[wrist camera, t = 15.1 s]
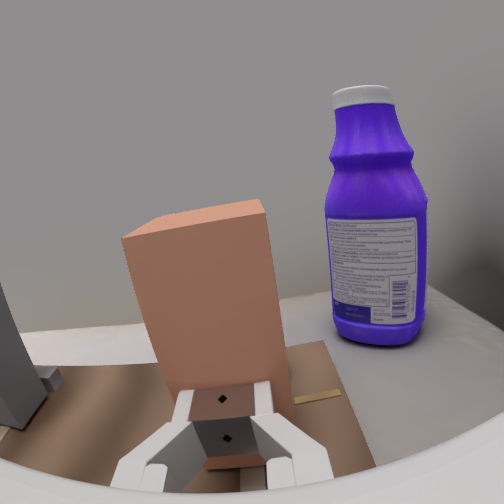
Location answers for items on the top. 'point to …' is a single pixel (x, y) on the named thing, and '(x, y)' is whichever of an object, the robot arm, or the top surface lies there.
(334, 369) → the wooden board
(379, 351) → the top surface
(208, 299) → the plug terracotta
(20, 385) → the grey tall block
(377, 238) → the bottle
